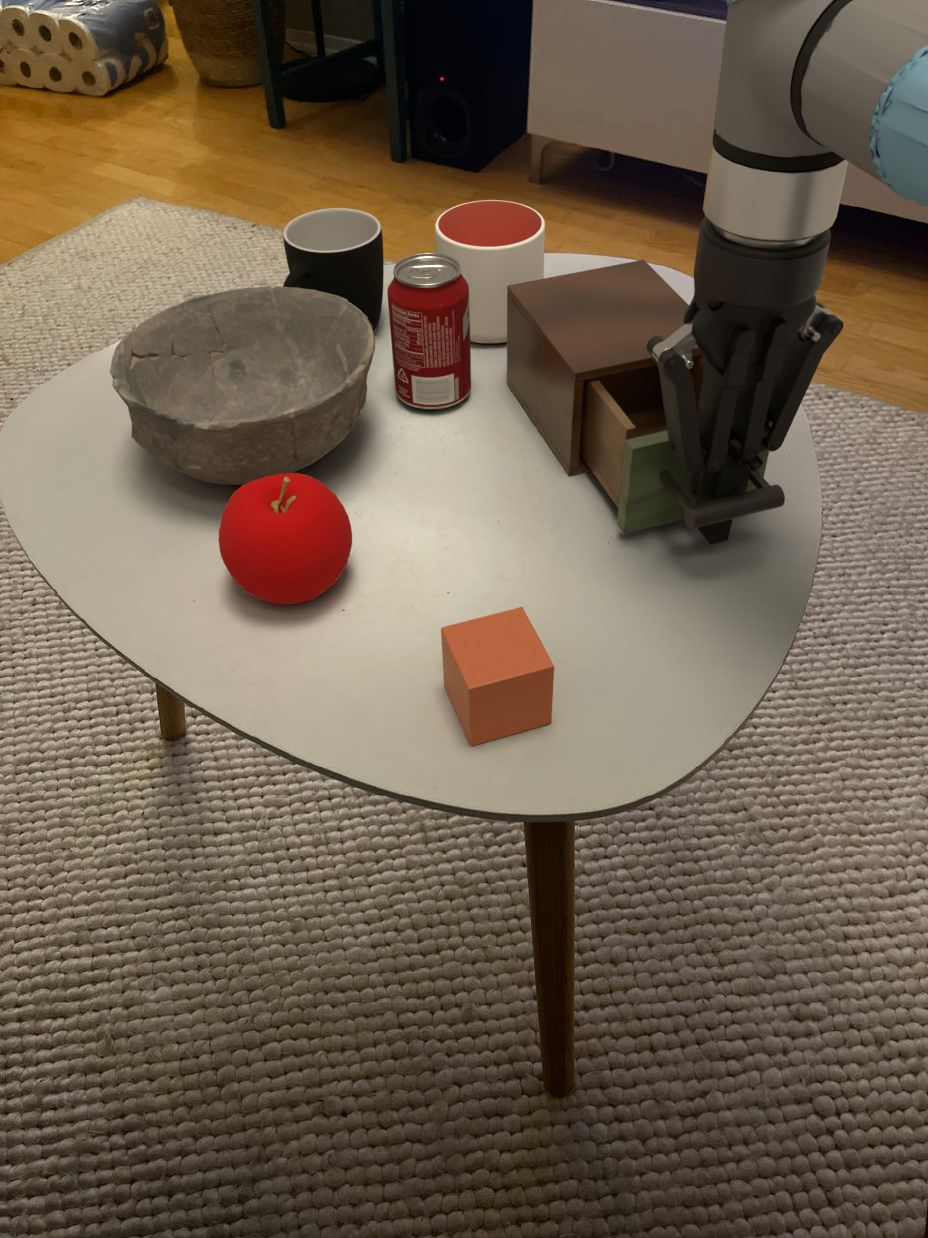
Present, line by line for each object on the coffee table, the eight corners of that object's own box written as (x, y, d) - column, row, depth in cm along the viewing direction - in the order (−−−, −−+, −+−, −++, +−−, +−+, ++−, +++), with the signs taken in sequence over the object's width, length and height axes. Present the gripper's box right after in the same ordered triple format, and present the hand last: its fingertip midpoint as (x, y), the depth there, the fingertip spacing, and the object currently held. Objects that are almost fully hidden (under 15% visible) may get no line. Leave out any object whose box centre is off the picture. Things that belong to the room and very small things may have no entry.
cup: (550, 301, 106) (553, 203, 99) (531, 354, 100) (534, 252, 92) (452, 292, 108) (449, 195, 101) (428, 343, 101) (422, 243, 94)
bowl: (329, 360, 100) (316, 259, 93) (427, 478, 87) (420, 371, 80) (110, 424, 93) (78, 321, 86) (180, 562, 80) (149, 453, 73)
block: (551, 724, 68) (554, 665, 64) (470, 747, 67) (468, 689, 63) (521, 664, 72) (522, 605, 68) (443, 685, 71) (440, 627, 67)
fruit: (257, 644, 74) (231, 534, 67) (213, 568, 80) (185, 459, 72) (377, 597, 77) (365, 487, 70) (327, 527, 83) (310, 419, 75)
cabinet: (708, 444, 89) (725, 341, 82) (569, 476, 86) (574, 373, 80) (634, 356, 99) (643, 258, 92) (506, 383, 96) (507, 284, 89)
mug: (338, 297, 108) (326, 199, 101) (408, 322, 104) (401, 221, 97) (256, 350, 101) (238, 248, 94) (328, 378, 97) (314, 275, 90)
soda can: (463, 418, 92) (460, 290, 84) (388, 412, 93) (376, 285, 85) (477, 376, 97) (475, 251, 89) (405, 370, 98) (395, 246, 90)
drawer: (798, 547, 78) (821, 461, 73) (657, 584, 76) (669, 497, 70) (679, 407, 91) (690, 325, 86) (555, 435, 89) (558, 352, 83)
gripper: (829, 177, 66) (763, 482, 82) (636, 212, 63) (608, 520, 80) (901, 228, 61) (815, 542, 77) (695, 268, 58) (652, 585, 75)
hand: (710, 531), depth 79 cm, fingers closed
